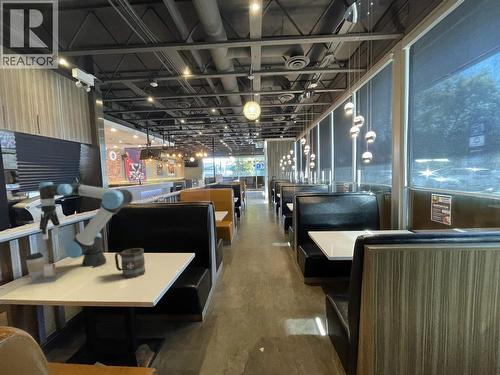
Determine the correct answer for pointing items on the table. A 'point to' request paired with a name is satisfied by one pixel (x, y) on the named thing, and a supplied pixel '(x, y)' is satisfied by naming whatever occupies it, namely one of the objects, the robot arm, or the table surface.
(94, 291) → the table surface
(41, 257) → the coffee cup
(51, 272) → the tile
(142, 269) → the mug
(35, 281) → the board
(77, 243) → the robot arm
